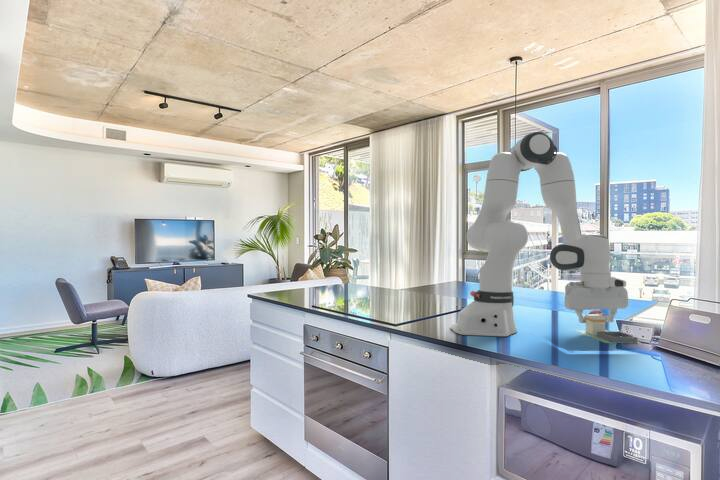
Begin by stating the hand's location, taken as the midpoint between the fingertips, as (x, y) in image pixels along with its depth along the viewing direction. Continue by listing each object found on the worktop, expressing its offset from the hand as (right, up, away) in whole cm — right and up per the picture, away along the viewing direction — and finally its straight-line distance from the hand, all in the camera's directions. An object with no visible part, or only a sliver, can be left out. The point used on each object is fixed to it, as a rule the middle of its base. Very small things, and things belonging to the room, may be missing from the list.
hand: (596, 322), depth 137 cm
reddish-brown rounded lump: (+9, -5, +17) cm, 19 cm away
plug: (-1, -4, -1) cm, 4 cm away
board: (0, -5, -5) cm, 7 cm away
